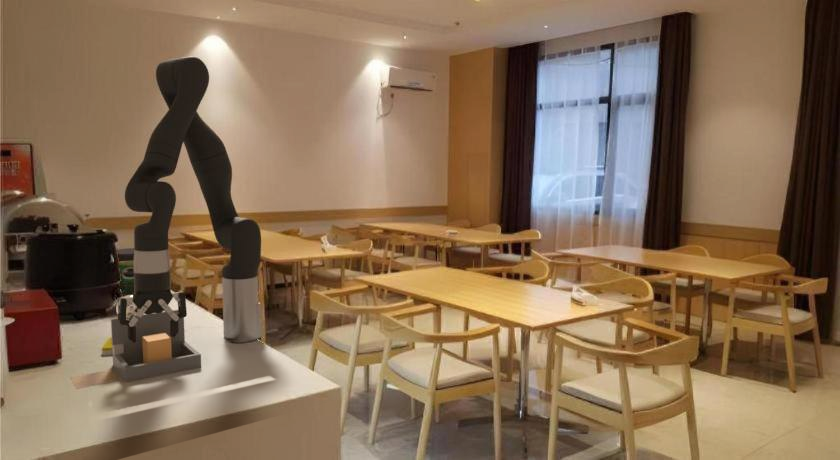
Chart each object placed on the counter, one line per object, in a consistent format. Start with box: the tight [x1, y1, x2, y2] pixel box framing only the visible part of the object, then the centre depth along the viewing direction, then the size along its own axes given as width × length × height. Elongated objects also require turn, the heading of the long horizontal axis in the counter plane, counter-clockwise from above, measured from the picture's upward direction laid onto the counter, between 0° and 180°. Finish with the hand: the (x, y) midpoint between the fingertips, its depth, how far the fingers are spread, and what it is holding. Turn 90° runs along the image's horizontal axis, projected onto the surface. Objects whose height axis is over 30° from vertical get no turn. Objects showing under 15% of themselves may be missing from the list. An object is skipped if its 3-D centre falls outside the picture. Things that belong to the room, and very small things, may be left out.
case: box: [110, 309, 202, 383], centre depth 138 cm, size 16×13×12 cm
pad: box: [70, 369, 119, 390], centre depth 130 cm, size 8×8×1 cm
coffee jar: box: [115, 247, 135, 304], centre depth 199 cm, size 10×8×19 cm
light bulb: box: [115, 295, 137, 317], centre depth 161 cm, size 7×7×12 cm
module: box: [142, 333, 172, 364], centre depth 137 cm, size 5×5×7 cm
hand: (153, 338), depth 137 cm, fingers open, 8 cm apart
